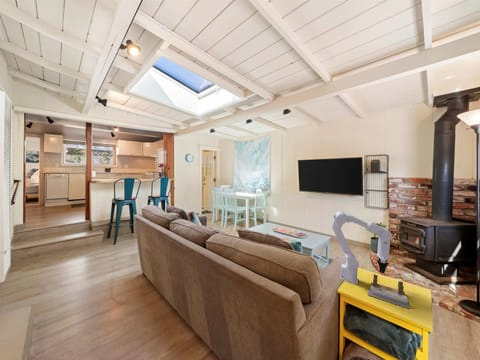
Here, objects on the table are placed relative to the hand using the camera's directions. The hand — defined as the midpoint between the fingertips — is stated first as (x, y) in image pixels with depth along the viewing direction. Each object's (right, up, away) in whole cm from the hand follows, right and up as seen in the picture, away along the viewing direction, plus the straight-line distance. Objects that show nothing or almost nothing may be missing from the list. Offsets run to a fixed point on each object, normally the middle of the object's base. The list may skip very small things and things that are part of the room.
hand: (382, 270), depth 121 cm
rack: (0, -10, -4) cm, 11 cm away
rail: (-5, -10, -11) cm, 16 cm away
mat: (-5, -10, -11) cm, 16 cm away
